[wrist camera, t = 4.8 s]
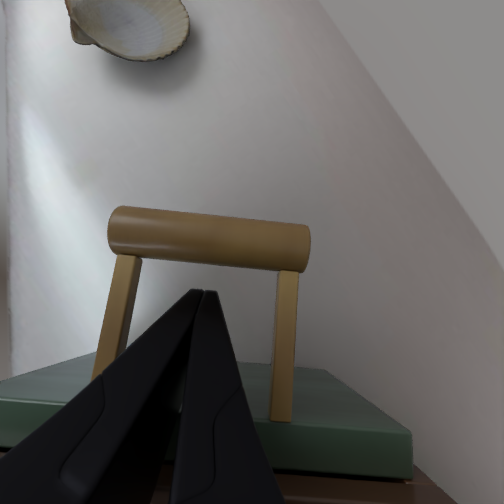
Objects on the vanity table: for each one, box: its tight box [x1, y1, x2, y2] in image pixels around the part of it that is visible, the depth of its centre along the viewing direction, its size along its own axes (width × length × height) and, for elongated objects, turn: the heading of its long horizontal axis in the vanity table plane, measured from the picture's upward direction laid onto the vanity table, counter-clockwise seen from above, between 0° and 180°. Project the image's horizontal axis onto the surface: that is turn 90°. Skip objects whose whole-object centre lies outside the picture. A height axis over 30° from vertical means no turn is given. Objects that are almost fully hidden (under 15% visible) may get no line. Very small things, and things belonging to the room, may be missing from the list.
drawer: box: [0, 206, 414, 480], centre depth 9 cm, size 19×13×8 cm, turn 175°
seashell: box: [65, 0, 190, 62], centre depth 18 cm, size 8×3×8 cm
